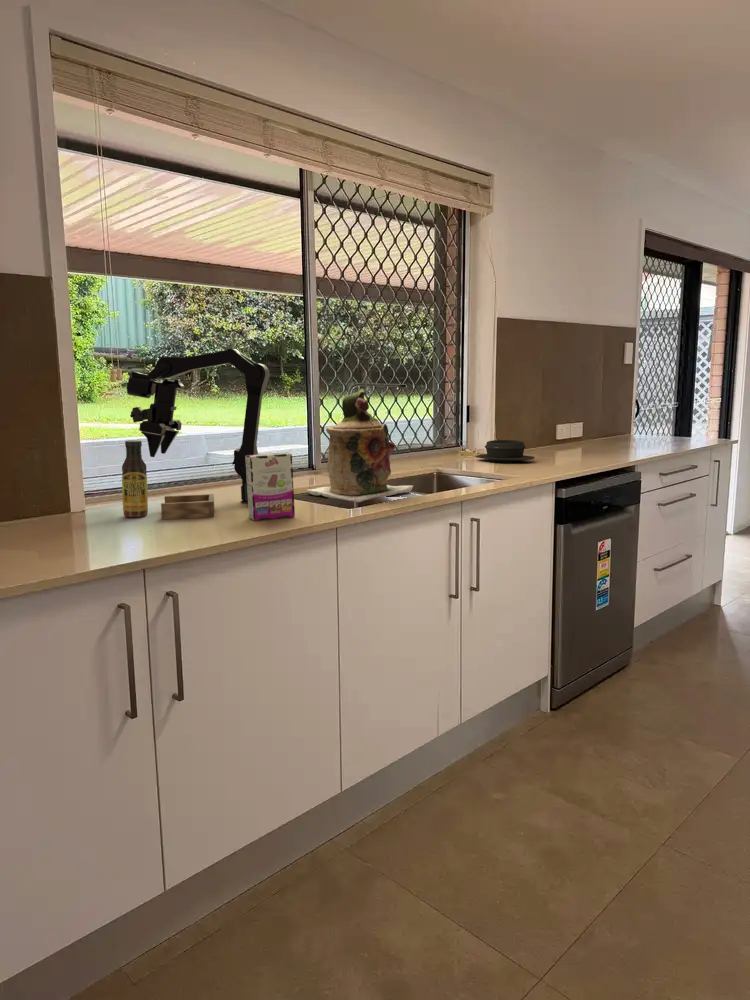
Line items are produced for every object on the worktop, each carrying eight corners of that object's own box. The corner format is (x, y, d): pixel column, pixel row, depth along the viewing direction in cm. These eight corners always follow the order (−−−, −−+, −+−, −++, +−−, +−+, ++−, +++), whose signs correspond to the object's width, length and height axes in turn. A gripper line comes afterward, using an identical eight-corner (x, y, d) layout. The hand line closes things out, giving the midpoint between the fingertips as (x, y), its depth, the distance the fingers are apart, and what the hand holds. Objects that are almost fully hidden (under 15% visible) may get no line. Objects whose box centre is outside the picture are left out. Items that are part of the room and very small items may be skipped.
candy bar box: (288, 513, 186) (286, 451, 183) (295, 517, 181) (293, 453, 178) (247, 518, 180) (244, 454, 178) (253, 521, 176) (250, 456, 173)
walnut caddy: (214, 508, 195) (213, 493, 195) (214, 516, 183) (213, 501, 182) (165, 510, 193) (164, 496, 192) (162, 519, 180) (161, 504, 180)
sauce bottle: (122, 519, 181) (116, 442, 178) (124, 514, 187) (118, 440, 184) (149, 517, 183) (144, 441, 180) (150, 513, 189) (144, 439, 186)
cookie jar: (303, 495, 216) (299, 389, 210) (357, 485, 234) (355, 388, 228) (363, 503, 200) (361, 389, 194) (416, 492, 218) (415, 387, 212)
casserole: (467, 462, 294) (467, 442, 292) (487, 457, 309) (487, 438, 307) (523, 465, 280) (524, 444, 278) (541, 460, 295) (542, 440, 293)
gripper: (148, 395, 210) (141, 447, 212) (124, 397, 191) (117, 453, 194) (185, 402, 209) (178, 453, 212) (164, 404, 191) (157, 460, 194)
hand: (157, 455), depth 203 cm, fingers open, 9 cm apart
